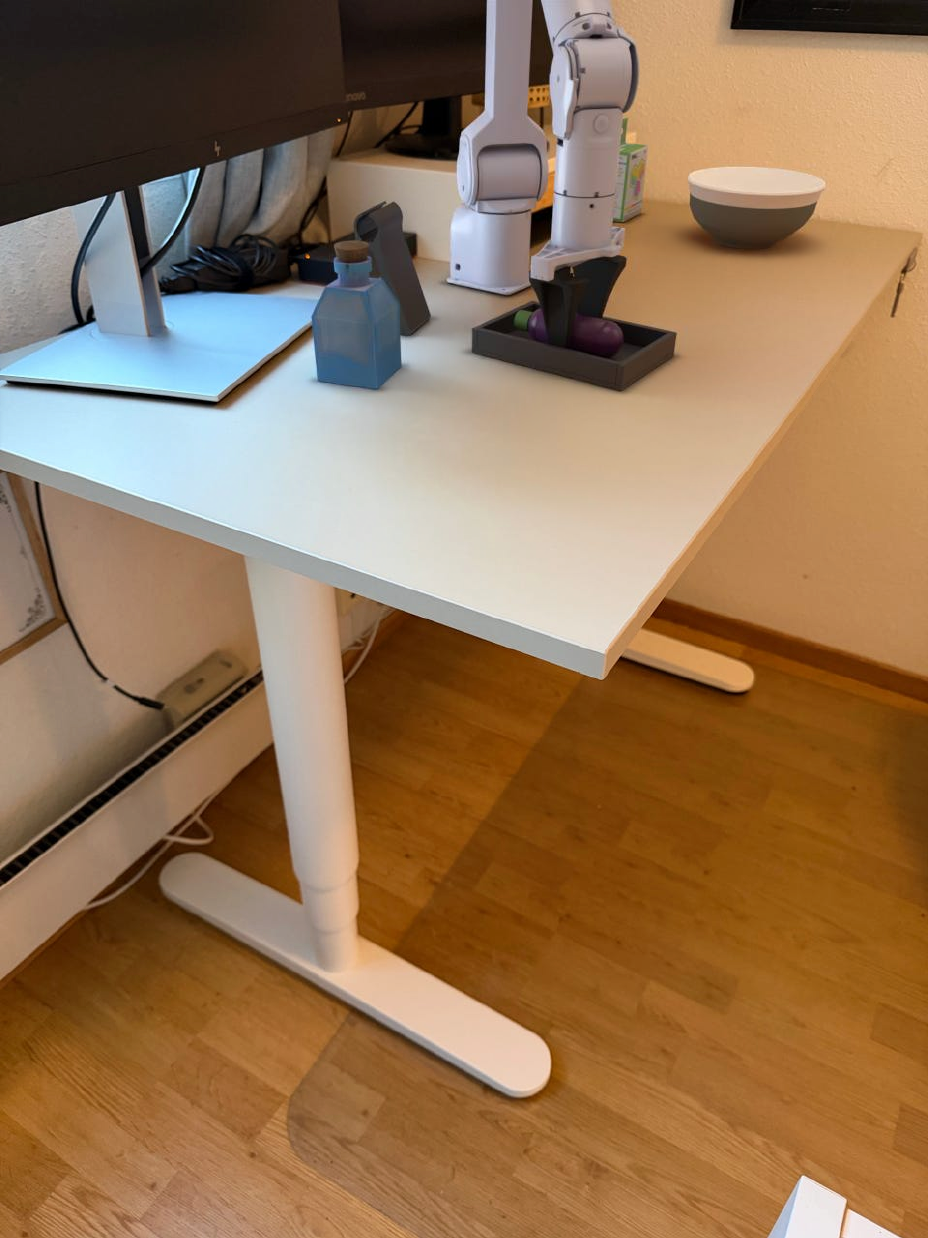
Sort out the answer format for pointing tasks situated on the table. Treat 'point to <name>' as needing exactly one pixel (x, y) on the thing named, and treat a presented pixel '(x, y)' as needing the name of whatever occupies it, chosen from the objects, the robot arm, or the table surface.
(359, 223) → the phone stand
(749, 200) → the bowl
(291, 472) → the table surface
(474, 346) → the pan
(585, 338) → the eggplant
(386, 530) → the table surface
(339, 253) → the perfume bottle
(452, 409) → the table surface
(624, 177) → the green white box
